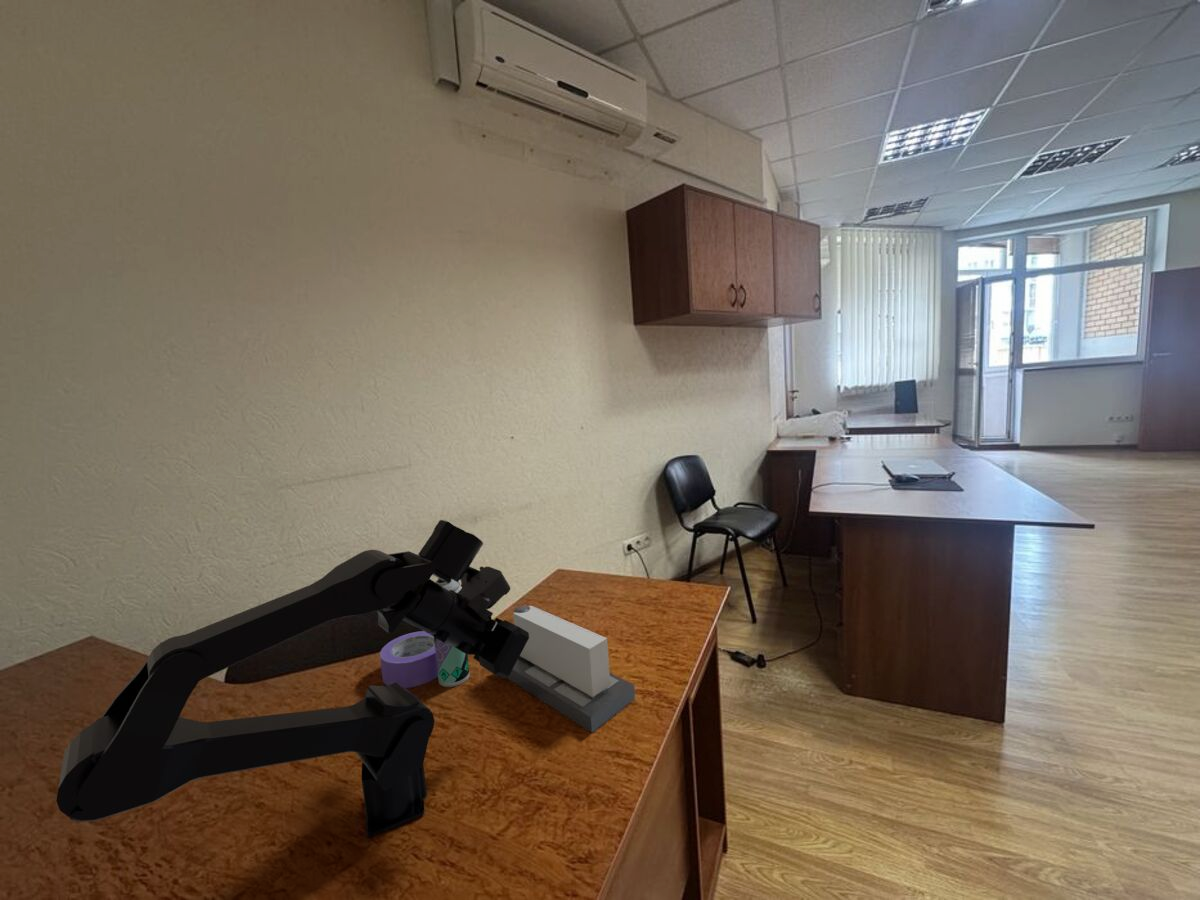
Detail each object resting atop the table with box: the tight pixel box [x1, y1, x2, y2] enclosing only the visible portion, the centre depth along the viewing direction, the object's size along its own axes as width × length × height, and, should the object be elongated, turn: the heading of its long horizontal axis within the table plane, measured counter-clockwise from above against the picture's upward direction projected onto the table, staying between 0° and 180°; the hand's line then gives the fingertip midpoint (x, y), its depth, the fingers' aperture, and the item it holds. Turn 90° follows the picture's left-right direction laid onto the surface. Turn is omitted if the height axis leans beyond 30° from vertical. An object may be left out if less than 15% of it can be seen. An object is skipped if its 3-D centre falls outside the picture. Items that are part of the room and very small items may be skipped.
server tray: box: [506, 656, 636, 734], centre depth 82 cm, size 10×25×3 cm, turn 46°
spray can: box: [434, 578, 471, 688], centre depth 85 cm, size 6×6×20 cm
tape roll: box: [379, 630, 438, 689], centre depth 89 cm, size 12×12×5 cm
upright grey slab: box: [513, 605, 611, 697], centre depth 81 cm, size 22×4×8 cm, turn 46°
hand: (513, 653), depth 71 cm, fingers closed
